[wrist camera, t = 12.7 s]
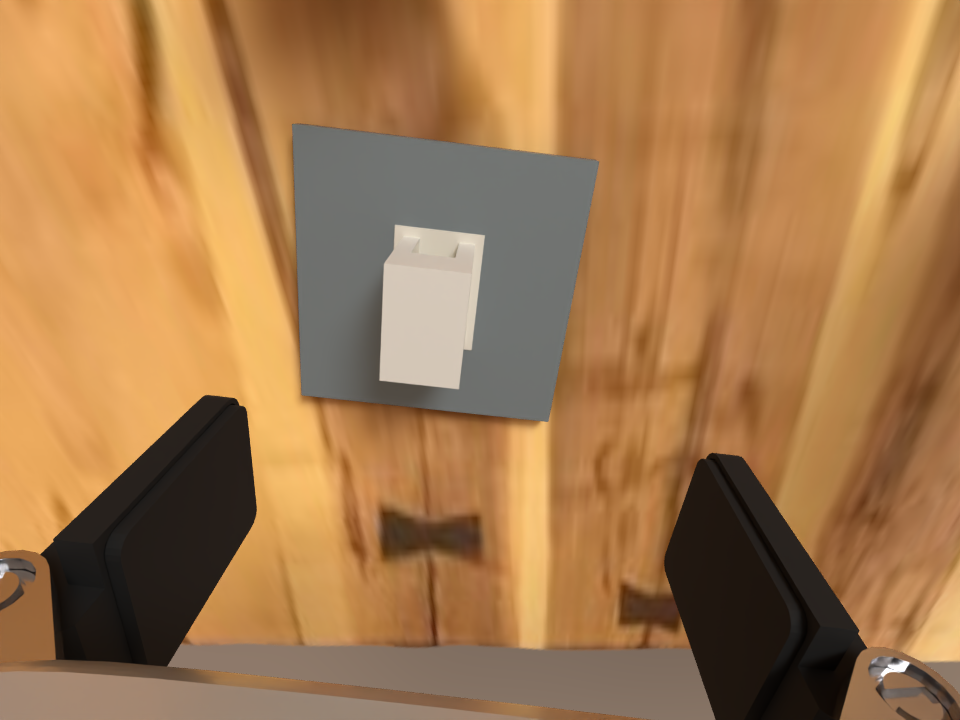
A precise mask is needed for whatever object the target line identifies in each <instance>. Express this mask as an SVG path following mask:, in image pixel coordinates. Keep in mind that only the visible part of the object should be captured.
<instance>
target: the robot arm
mask: <svg viewBox="0 0 960 720" xmlns="http://www.w3.org/2000/svg"><path fill="white" fill-rule="evenodd" d="M256 511H257V506H256V496H255V486H254V476H253V467H252V457H251V447H250V437H249V427H248V418H247V411H246V408H245V407H244V406H239V403H238V401H237V400H236V399H235V398H229V397H220V396H211V395H205V396H204V397H202V398H201V399H200V400H199V401H198V402H197V403H196V404H195V405H193V406H192V407H191V408H190V409H189V410H188V411H187V412H186V413H185V414H184V415H183V416H182V417H181V418H180V419H179V420H178V421H177V422H176V423H175V424H174V425H173V426H171V427H170V428H169V429H168V430H167V431H166V432H165V433H164V434H163V435H162V436H161V437H160V438H159V439H158V440H157V441H156V442H155V443H154V444H153V445H152V446H150V447H149V448H148V449H147V450H146V451H145V452H144V453H143V454H142V455H141V456H140V457H139V458H138V459H137V460H136V461H135V462H134V463H133V464H132V465H131V466H130V467H128V468H127V469H126V470H125V471H124V472H123V473H122V474H121V475H120V476H119V477H118V478H117V479H116V480H115V481H114V482H113V483H112V484H111V485H110V486H109V487H107V488H106V489H105V490H104V491H103V492H102V493H101V494H100V495H99V496H98V497H97V498H96V499H95V500H94V501H93V502H92V503H91V504H90V505H89V506H88V507H87V508H85V509H84V510H83V511H82V512H81V513H80V514H79V515H78V516H77V517H76V518H75V519H74V520H73V521H72V522H71V523H70V524H69V525H68V526H67V527H66V528H65V529H63V530H62V531H61V532H60V533H59V534H58V535H57V536H56V537H55V538H54V539H53V541H54V542H53V543H52V544H51V545H50V546H49V547H48V548H47V549H45V550H44V551H43V552H42V553H41V554H38V553H36V552H30V551H25V550H17V551H4V552H0V720H649V719H640V718H632V717H623V716H615V715H606V714H597V713H589V712H581V711H572V710H564V709H555V708H547V707H537V706H530V705H520V704H512V703H503V702H494V701H486V700H477V699H468V698H459V697H450V696H441V695H432V694H423V693H414V692H405V691H395V690H387V689H378V688H368V687H360V686H351V685H342V684H332V683H323V682H313V681H303V680H294V679H285V678H275V677H266V676H257V675H246V674H238V673H228V672H218V671H209V670H198V669H187V668H176V667H167V666H168V664H169V662H170V661H171V659H172V657H173V656H174V654H175V652H176V651H177V649H178V647H179V646H180V644H181V642H182V641H183V639H184V638H185V636H186V634H187V633H188V631H189V629H190V628H191V626H192V624H193V623H194V621H195V619H196V618H197V616H198V614H199V613H200V611H201V610H202V608H203V606H204V605H205V603H206V601H207V600H208V598H209V596H210V595H211V593H212V591H213V590H214V588H215V586H216V585H217V583H218V582H219V580H220V578H221V577H222V575H223V573H224V572H225V570H226V568H227V567H228V565H229V563H230V562H231V560H232V558H233V557H234V555H235V553H236V552H237V550H238V549H239V547H240V545H241V544H242V542H243V540H244V539H245V537H246V535H247V534H248V532H249V530H250V529H251V527H252V525H253V523H254V520H255V517H256ZM664 566H665V572H666V575H667V578H668V581H669V584H670V587H671V590H672V593H673V596H674V599H675V602H676V605H677V608H678V611H679V613H680V616H681V619H682V622H683V625H684V628H685V631H686V634H687V637H688V640H689V643H690V646H691V649H692V652H693V654H694V657H695V660H696V663H697V666H698V669H699V672H700V675H701V678H702V681H703V684H704V686H705V689H706V692H707V695H708V698H709V701H710V704H711V707H712V710H713V713H714V716H715V719H716V720H960V694H959V693H958V692H957V691H956V689H955V688H954V687H953V686H952V685H951V684H949V683H948V682H947V681H946V680H945V679H943V677H941V676H940V675H939V674H938V673H937V672H935V671H934V670H932V669H931V668H929V667H928V666H926V665H925V664H923V663H922V662H920V661H919V660H917V659H915V658H913V657H911V656H908V655H906V654H904V653H902V652H899V651H896V650H892V649H889V648H884V647H871V648H867V647H866V645H865V644H864V642H863V641H862V639H861V638H860V636H859V635H858V632H859V629H858V628H857V626H856V625H855V623H854V622H853V620H852V619H851V617H850V616H849V614H848V613H847V611H846V610H845V608H844V607H843V605H842V604H841V602H840V601H839V599H838V598H837V597H836V595H835V594H834V592H833V591H832V589H831V588H830V586H829V585H828V583H827V582H826V580H825V579H824V577H823V576H822V574H821V573H820V571H819V570H818V568H817V567H816V565H815V564H814V562H813V561H812V559H811V558H810V556H809V555H808V553H807V552H806V551H805V549H804V548H803V546H802V545H801V543H800V542H799V540H798V539H797V537H796V536H795V534H794V533H793V531H792V530H791V528H790V527H789V525H788V524H787V522H786V521H785V519H784V518H783V516H782V515H781V513H780V512H779V510H778V509H777V507H776V506H775V505H774V503H773V502H772V500H771V499H770V497H769V496H768V494H767V493H766V491H765V490H764V488H763V487H762V485H761V484H760V482H759V481H758V479H757V478H756V476H755V475H754V473H753V472H752V470H751V469H750V467H749V466H748V464H747V463H746V461H745V460H744V459H743V458H742V457H740V456H735V455H726V454H717V453H711V454H709V455H708V456H707V458H706V459H700V460H699V461H698V463H697V465H696V468H695V471H694V474H693V477H692V480H691V483H690V485H689V488H688V491H687V494H686V497H685V500H684V502H683V505H682V508H681V511H680V514H679V517H678V520H677V522H676V525H675V528H674V531H673V534H672V537H671V539H670V542H669V545H668V548H667V551H666V554H665V560H664Z"/></svg>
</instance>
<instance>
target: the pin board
mask: <svg viewBox="0 0 960 720" xmlns="http://www.w3.org/2000/svg"><path fill="white" fill-rule="evenodd" d="M292 130H293V159H294V188H295V217H296V246H297V276H298V305H299V334H300V363H301V393H302V395H304V396H313V397H323V398H332V399H341V400H350V401H360V402H369V403H378V404H388V405H397V406H406V407H415V408H425V409H434V410H443V411H453V412H462V413H471V414H480V415H490V416H499V417H508V418H518V419H527V420H536V421H545V422H548V420H549V415H550V410H551V405H552V400H553V395H554V390H555V385H556V380H557V375H558V369H559V364H560V359H561V354H562V349H563V344H564V339H565V334H566V329H567V324H568V318H569V313H570V308H571V303H572V298H573V293H574V288H575V283H576V278H577V273H578V267H579V262H580V257H581V252H582V247H583V242H584V237H585V232H586V227H587V221H588V216H589V211H590V206H591V201H592V196H593V191H594V186H595V181H596V176H597V170H598V165H599V161H596V160H592V159H584V158H575V157H567V156H559V155H551V154H543V153H535V152H527V151H519V150H510V149H502V148H494V147H486V146H478V145H470V144H462V143H454V142H445V141H437V140H429V139H421V138H413V137H405V136H397V135H389V134H380V133H372V132H364V131H356V130H348V129H340V128H332V127H324V126H315V125H307V124H292ZM403 236H408V237H417V238H420V245H419V254H426V255H434V256H443V257H451V258H456V254H457V250H458V246H459V243H467V244H475V252H474V261H473V270H472V279H471V288H470V297H469V305H468V314H467V323H466V332H465V341H464V350H463V358H462V367H461V375H460V384H459V389H452V388H443V387H434V386H424V385H415V384H406V383H397V382H388V381H379V379H380V353H381V327H382V301H383V275H384V263H385V261H386V260H387V259H388V257H389V256H390V254H391V253H392V252H393V250H394V249H395V248H396V246H397V245H398V243H399V242H400V241H401V239H402V238H403Z"/></svg>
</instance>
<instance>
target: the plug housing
mask: <svg viewBox="0 0 960 720" xmlns="http://www.w3.org/2000/svg"><path fill="white" fill-rule="evenodd" d="M419 245H420V238H417V237H408V236H403V238H402V239H401V241H400V242H399V243H398V245H397V246H396V248H395V249H394V250H393V252H392V253H391V254H390V256H389V257H388V259H387V260H386V261H385V263H384V275H383V301H382V327H381V353H380V379H379V381H388V382H397V383H406V384H415V385H424V386H434V387H443V388H452V389H459V384H460V375H461V367H462V358H463V350H464V341H465V332H466V323H467V314H468V305H469V297H470V288H471V279H472V270H473V261H474V252H475V244H467V243H459V246H458V250H457V254H456V258H451V257H443V256H434V255H426V254H419Z"/></svg>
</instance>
